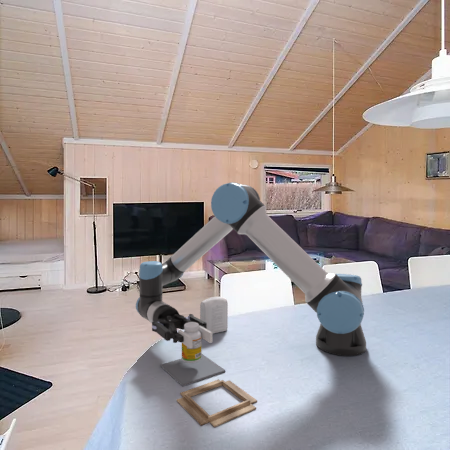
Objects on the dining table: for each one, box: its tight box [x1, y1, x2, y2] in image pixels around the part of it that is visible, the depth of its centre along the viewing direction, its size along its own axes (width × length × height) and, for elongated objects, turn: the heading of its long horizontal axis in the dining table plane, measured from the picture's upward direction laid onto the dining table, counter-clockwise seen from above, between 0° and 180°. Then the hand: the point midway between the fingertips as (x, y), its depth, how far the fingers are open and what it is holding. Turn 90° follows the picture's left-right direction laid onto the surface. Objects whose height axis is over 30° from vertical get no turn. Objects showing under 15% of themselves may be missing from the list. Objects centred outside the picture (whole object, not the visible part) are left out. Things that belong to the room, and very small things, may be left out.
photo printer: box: [199, 296, 229, 335], centre depth 123 cm, size 10×4×12 cm, turn 123°
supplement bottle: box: [181, 322, 202, 363], centre depth 95 cm, size 5×5×10 cm
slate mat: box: [160, 353, 226, 387], centre depth 96 cm, size 13×13×1 cm
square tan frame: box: [176, 379, 258, 428], centre depth 80 cm, size 15×15×1 cm
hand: (201, 340), depth 91 cm, fingers closed on supplement bottle, 5 cm apart
